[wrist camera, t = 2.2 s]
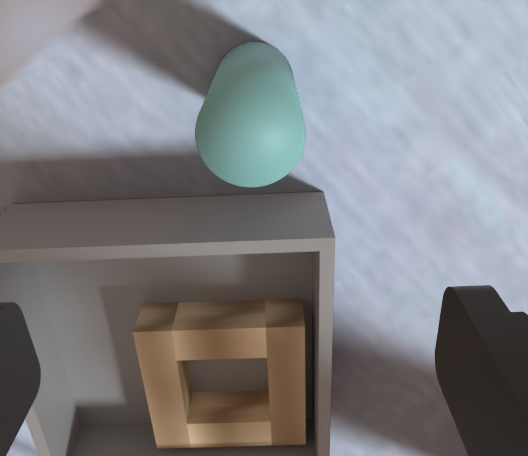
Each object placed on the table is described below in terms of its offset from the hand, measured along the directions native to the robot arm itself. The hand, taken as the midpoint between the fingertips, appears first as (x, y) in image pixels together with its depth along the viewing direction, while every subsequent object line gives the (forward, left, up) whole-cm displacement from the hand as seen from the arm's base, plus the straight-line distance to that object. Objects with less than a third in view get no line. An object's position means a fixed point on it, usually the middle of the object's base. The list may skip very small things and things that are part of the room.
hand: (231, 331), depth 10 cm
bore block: (+3, +20, -21) cm, 29 cm away
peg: (0, 0, -22) cm, 22 cm away
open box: (+6, +17, -22) cm, 28 cm away
